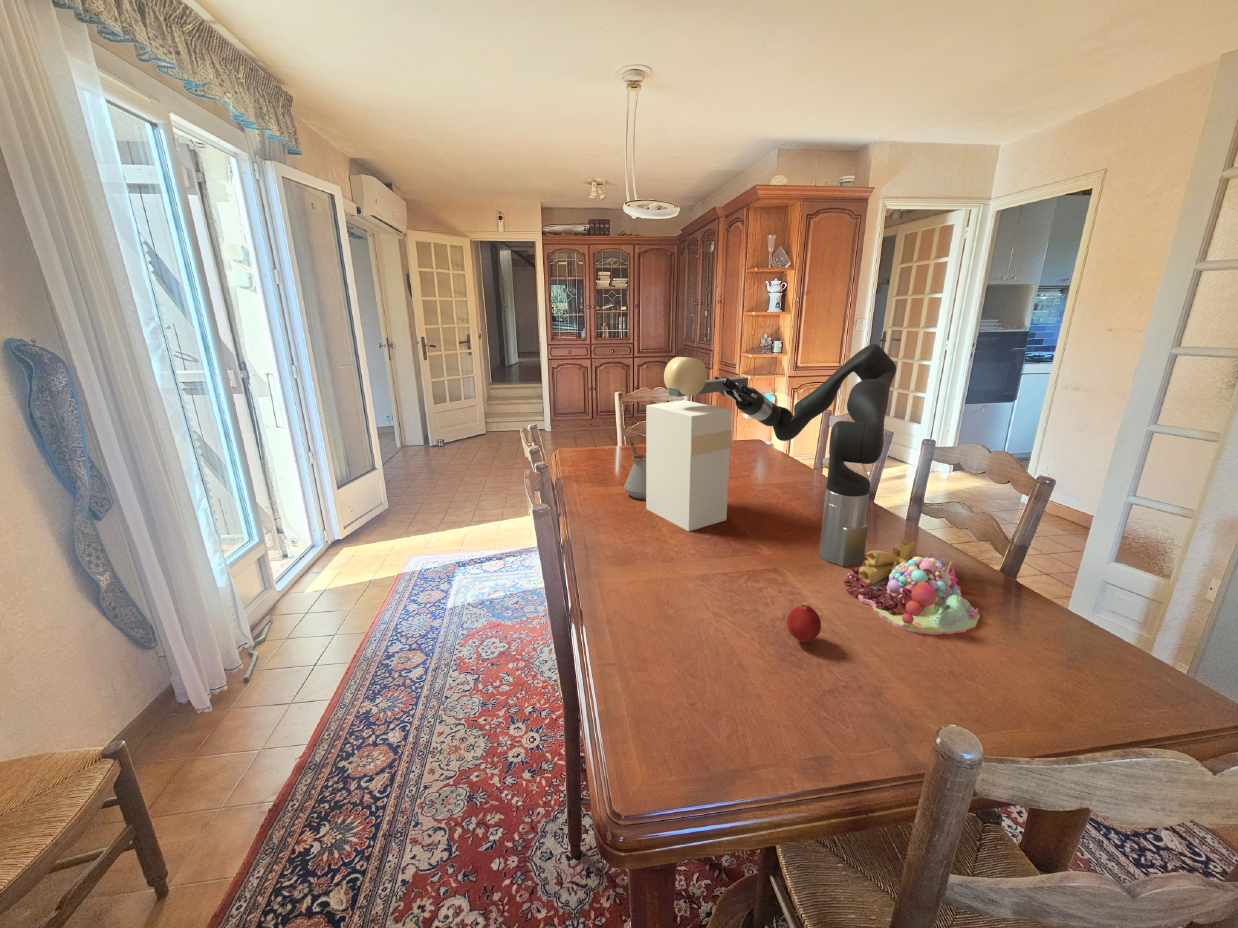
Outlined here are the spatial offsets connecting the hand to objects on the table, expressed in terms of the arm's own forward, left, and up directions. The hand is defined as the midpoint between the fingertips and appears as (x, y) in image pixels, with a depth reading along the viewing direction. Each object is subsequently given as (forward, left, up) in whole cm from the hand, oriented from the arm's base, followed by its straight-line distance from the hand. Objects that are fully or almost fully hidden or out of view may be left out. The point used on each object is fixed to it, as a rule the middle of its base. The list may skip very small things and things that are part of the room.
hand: (719, 380), depth 145 cm
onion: (-65, +16, -39) cm, 77 cm away
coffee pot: (+22, +17, -39) cm, 48 cm away
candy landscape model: (-60, -15, -39) cm, 73 cm away
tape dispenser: (-1, +3, -3) cm, 5 cm away
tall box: (-3, +11, -39) cm, 40 cm away
